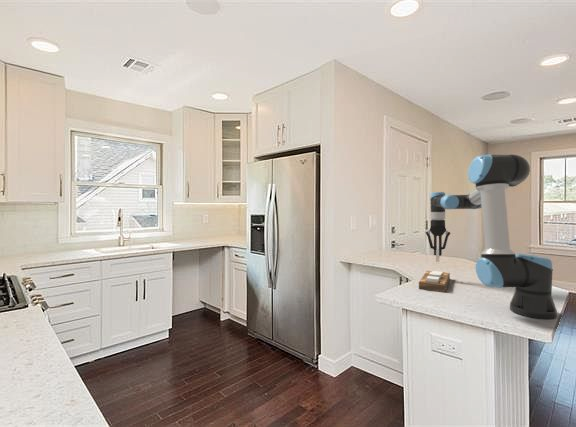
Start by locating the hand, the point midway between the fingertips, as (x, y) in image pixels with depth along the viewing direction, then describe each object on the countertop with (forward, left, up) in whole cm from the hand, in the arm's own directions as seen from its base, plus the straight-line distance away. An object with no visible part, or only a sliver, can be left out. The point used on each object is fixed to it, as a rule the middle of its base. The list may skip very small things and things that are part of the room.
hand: (437, 261), depth 182 cm
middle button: (-10, 0, -8) cm, 12 cm away
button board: (-10, 0, -11) cm, 14 cm away
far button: (0, 0, -9) cm, 9 cm away
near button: (-20, 0, -8) cm, 21 cm away
